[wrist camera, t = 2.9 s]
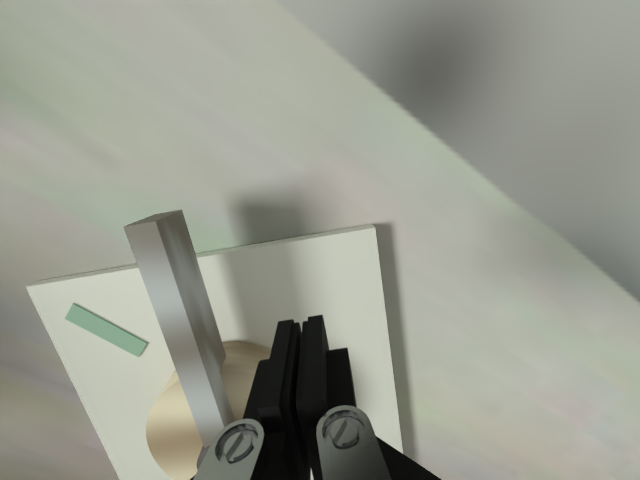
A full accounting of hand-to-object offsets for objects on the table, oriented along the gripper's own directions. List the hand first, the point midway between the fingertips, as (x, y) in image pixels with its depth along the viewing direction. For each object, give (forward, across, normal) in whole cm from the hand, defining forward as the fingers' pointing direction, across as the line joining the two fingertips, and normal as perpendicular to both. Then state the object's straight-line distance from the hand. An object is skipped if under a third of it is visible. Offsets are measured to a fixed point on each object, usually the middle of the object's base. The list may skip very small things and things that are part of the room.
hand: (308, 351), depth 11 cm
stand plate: (+10, +8, +10) cm, 16 cm away
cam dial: (+9, +8, +5) cm, 13 cm away
